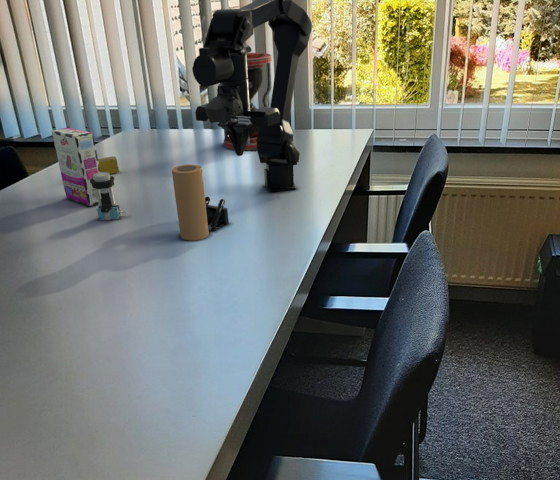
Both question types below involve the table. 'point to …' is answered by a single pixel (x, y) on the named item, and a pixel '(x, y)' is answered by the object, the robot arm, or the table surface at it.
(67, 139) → the candy bar box
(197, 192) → the paper towel roll
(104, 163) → the medication box
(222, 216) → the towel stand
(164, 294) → the table surface
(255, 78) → the hourglass
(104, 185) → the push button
